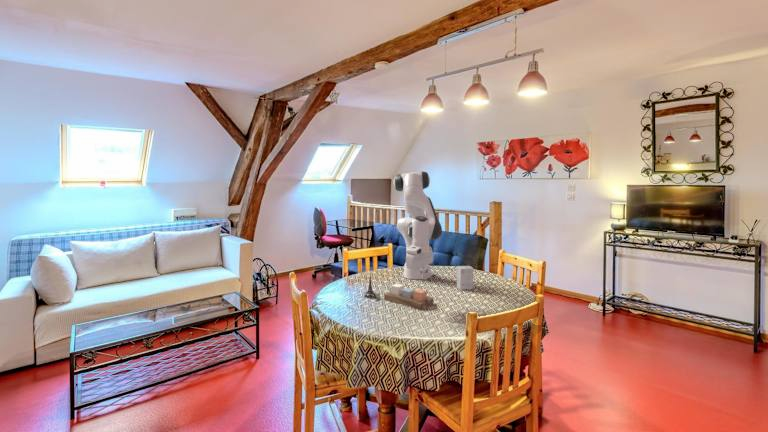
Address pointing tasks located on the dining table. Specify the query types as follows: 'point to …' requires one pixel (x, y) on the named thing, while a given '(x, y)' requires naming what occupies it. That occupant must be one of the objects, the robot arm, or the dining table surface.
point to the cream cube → (397, 289)
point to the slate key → (408, 293)
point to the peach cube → (420, 295)
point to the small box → (464, 277)
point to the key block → (408, 301)
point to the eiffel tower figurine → (371, 293)
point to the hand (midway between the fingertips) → (420, 274)
